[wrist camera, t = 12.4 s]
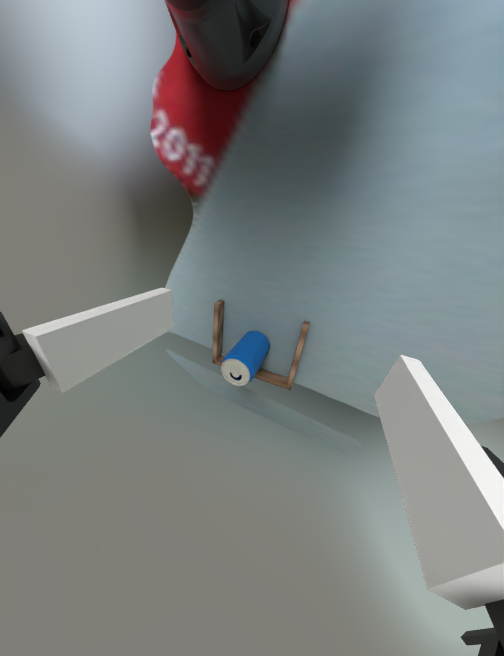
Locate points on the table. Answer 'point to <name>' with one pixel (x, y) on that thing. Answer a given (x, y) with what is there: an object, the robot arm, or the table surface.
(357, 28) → the table surface
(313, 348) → the table surface
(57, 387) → the robot arm
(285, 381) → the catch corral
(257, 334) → the beverage can
